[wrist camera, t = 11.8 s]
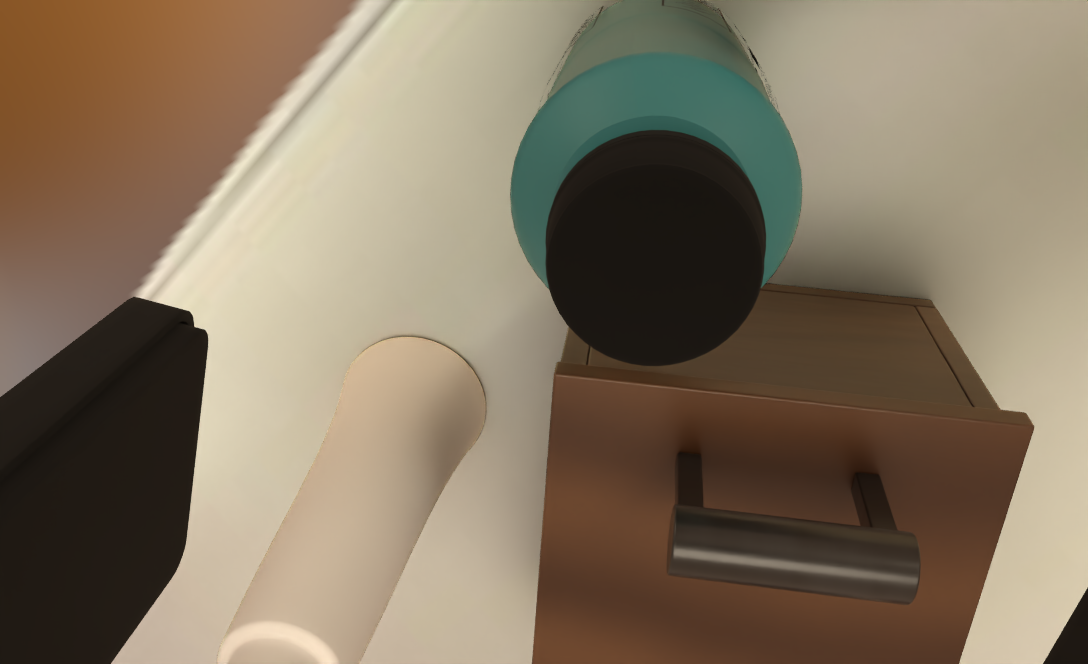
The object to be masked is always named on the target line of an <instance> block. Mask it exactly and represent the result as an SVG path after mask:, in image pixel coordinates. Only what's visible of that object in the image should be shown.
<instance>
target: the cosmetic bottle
mask: <svg viewBox="0 0 1088 664" xmlns="http://www.w3.org/2000/svg"><path fill="white" fill-rule="evenodd" d="M485 416H486V402H485V396H484V392H483V389H482V386H481V384H480V382H479V379H478V378H477V376H476V374H475V373H474V371H473V370H472V369H471V367H470V366H469V365H468V364H467V363H466V362H465V361H464V360H463V359H462V358H461V357H460V356H459V355H457V354H456V353H455V352H453V351H452V350H450V349H449V348H447V347H445V346H443V345H441V344H439V343H436V342H434V341H431V340H427V339H423V338H417V337H396V338H391V339H387V340H384V341H381V342H378V343H376V344H374V345H372V346H370V347H369V348H367V349H366V350H364V351H363V352H362V353H361V354H360V355H359V356H358V357H357V358H356V359H355V360H354V361H353V363H352V364H351V366H350V367H349V369H348V372H347V374H346V376H345V379H344V383H343V387H342V391H341V395H340V399H339V402H338V405H337V408H336V411H335V414H334V417H333V419H332V422H331V424H330V427H329V429H328V432H327V434H326V436H325V438H324V441H323V443H322V445H321V448H320V450H319V452H318V454H317V456H316V458H315V460H314V462H313V464H312V466H311V468H310V470H309V472H308V474H307V476H306V478H305V480H304V482H303V484H302V486H301V488H300V490H299V492H298V494H297V496H296V498H295V499H294V501H293V503H292V505H291V507H290V509H289V511H288V513H287V515H286V517H285V518H284V520H283V522H282V524H281V526H280V528H279V530H278V532H277V534H276V536H275V538H274V539H273V541H272V543H271V545H270V547H269V549H268V551H267V553H266V555H265V557H264V559H263V560H262V562H261V564H260V566H259V568H258V570H257V572H256V574H255V576H254V578H253V580H252V582H251V584H250V586H249V588H248V590H247V592H246V594H245V596H244V598H243V600H242V602H241V604H240V606H239V608H238V610H237V612H236V614H235V616H234V618H233V620H232V622H231V624H230V626H229V629H228V631H227V633H226V635H225V637H224V639H223V641H222V643H221V645H220V648H219V651H218V655H217V664H359V663H360V661H361V659H362V657H363V655H364V653H365V651H366V648H367V646H368V644H369V642H370V640H371V638H372V636H373V634H374V632H375V630H376V628H377V625H378V623H379V621H380V619H381V617H382V615H383V613H384V611H385V609H386V606H387V604H388V602H389V600H390V598H391V596H392V594H393V591H394V589H395V587H396V585H397V583H398V581H399V578H400V576H401V574H402V572H403V570H404V568H405V566H406V563H407V561H408V559H409V557H410V555H411V553H412V550H413V548H414V546H415V544H416V542H417V540H418V538H419V536H420V534H421V532H422V530H423V528H424V525H425V523H426V521H427V519H428V517H429V515H430V513H431V511H432V509H433V507H434V505H435V504H436V502H437V500H438V498H439V496H440V494H441V492H442V491H443V489H444V487H445V485H446V484H447V482H448V480H449V479H450V477H451V475H452V474H453V472H454V471H455V469H456V468H457V466H458V465H459V463H460V461H461V460H462V459H463V457H464V456H465V455H466V453H467V452H468V451H469V450H470V448H471V447H472V446H473V445H474V443H475V442H476V441H477V439H478V437H479V435H480V434H481V431H482V429H483V426H484V422H485Z"/></svg>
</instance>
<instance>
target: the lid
mask: <svg viewBox="0 0 1088 664" xmlns="http://www.w3.org/2000/svg"><path fill="white" fill-rule="evenodd" d="M1033 430H1034V425H1033V423H1032V422H1031V420H1030V419H1029V417H1028V415H1027V414H1026V413H1024V412H1014V411H1005V410H996V409H987V408H978V407H969V406H960V405H950V404H941V403H932V402H923V401H914V400H905V399H896V398H886V397H877V396H868V395H859V394H850V393H841V392H832V391H822V390H813V389H804V388H795V387H786V386H777V385H768V384H758V383H749V382H740V381H731V380H722V379H713V378H704V377H694V376H685V375H676V374H667V373H658V372H649V371H640V370H630V369H621V368H612V367H603V366H594V365H585V364H576V363H566V362H557V363H556V367H555V372H554V379H553V392H552V405H551V418H550V432H549V445H548V458H547V472H546V485H545V498H544V511H543V525H542V538H541V551H540V564H539V578H538V591H537V604H536V618H535V631H534V644H533V657H532V664H959V661H960V658H961V655H962V652H963V649H964V646H965V642H966V639H967V636H968V633H969V630H970V627H971V624H972V621H973V617H974V614H975V611H976V608H977V605H978V602H979V599H980V596H981V593H982V589H983V586H984V583H985V580H986V577H987V574H988V571H989V568H990V564H991V561H992V558H993V555H994V552H995V549H996V546H997V543H998V539H999V536H1000V533H1001V530H1002V527H1003V524H1004V521H1005V518H1006V514H1007V511H1008V508H1009V505H1010V502H1011V499H1012V496H1013V493H1014V489H1015V486H1016V483H1017V480H1018V477H1019V474H1020V471H1021V468H1022V464H1023V461H1024V458H1025V455H1026V452H1027V449H1028V446H1029V443H1030V440H1031V436H1032V433H1033Z"/></svg>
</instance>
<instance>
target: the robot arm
mask: <svg viewBox="0 0 1088 664" xmlns="http://www.w3.org/2000/svg"><path fill="white" fill-rule="evenodd" d="M207 351H208V335H207V332H206V331H205V330H203V329H199V328H196V327H194V321H193V316H192V314H191V313H190V311H186V310H183V309H179V308H175V307H171V306H168V305H164V304H160V303H156V302H153V301H149V300H145V299H141V298H137V297H133V298H131V299H129V300H127V301H126V302H124V303H123V304H122V305H120V306H119V307H118V308H116V309H115V310H114V311H113V312H111V313H110V314H109V315H107V316H106V317H105V318H103V319H102V320H101V321H99V322H98V323H97V324H96V325H94V326H93V327H92V328H90V329H89V330H88V331H86V332H85V333H84V334H82V335H81V336H80V337H79V338H78V339H76V340H75V341H73V342H72V343H71V344H70V345H68V346H67V347H66V348H64V349H63V350H62V351H60V352H59V353H58V354H56V355H55V356H54V357H53V358H51V359H50V360H49V361H47V362H46V363H45V364H43V365H42V366H41V367H39V368H38V369H37V370H35V371H34V372H33V373H31V374H30V375H29V376H28V377H26V378H25V379H24V380H22V381H21V382H20V383H19V384H17V385H16V386H14V387H13V388H12V389H11V390H9V391H8V392H7V393H5V394H4V395H3V396H1V397H0V664H111V662H112V661H113V660H114V658H115V657H116V655H117V654H118V653H119V651H120V650H121V648H122V647H123V646H124V644H125V643H126V641H127V640H128V639H129V637H130V636H131V634H132V633H133V632H134V630H135V629H136V628H137V626H138V625H139V623H140V622H141V621H142V619H143V618H144V616H145V615H146V614H147V612H148V611H149V609H150V608H151V607H152V605H153V604H154V602H155V601H156V600H157V598H158V597H159V595H160V594H161V593H162V591H163V590H164V588H165V587H166V586H167V584H168V583H169V581H170V580H171V579H172V577H173V575H174V574H175V572H176V570H177V568H178V566H179V564H180V561H181V558H182V556H183V552H184V549H185V545H186V539H187V530H188V521H189V512H190V503H191V494H192V485H193V476H194V467H195V458H196V449H197V440H198V431H199V422H200V414H201V405H202V396H203V387H204V378H205V369H206V360H207ZM1043 664H1088V588H1087V590H1086V592H1085V593H1084V595H1083V597H1082V598H1081V600H1080V602H1079V603H1078V605H1077V607H1076V609H1075V610H1074V612H1073V614H1072V615H1071V617H1070V619H1069V621H1068V622H1067V624H1066V626H1065V627H1064V629H1063V631H1062V632H1061V634H1060V636H1059V638H1058V639H1057V641H1056V643H1055V644H1054V646H1053V648H1052V650H1051V651H1050V653H1049V655H1048V656H1047V658H1046V660H1045V661H1044V663H1043Z"/></svg>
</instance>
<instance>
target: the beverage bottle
mask: <svg viewBox="0 0 1088 664" xmlns="http://www.w3.org/2000/svg"><path fill="white" fill-rule="evenodd" d="M698 1H699V0H698ZM698 1H696V0H622V1H620V2H618V3H616V4H614V5H612V6H611V7H609V8H607V9H606V10H605V11H603V12H602V13H601V11H602V9H603V6H602V8H601V10H600V12H599V14H598V16H596V18H595V19H594V20H593V19H592V20H593V21H591V22H590V23H589V25H588V26H587V25H585V24H586V22H587V20H588V19H587V20H586V21H585V22H584V24H583V26H581V27H582V28H584V27H586V26H587V27H586V28H585V29H584V31H582V33H580V32H579V33H580V34H581V35H580V36H579V38H578V37H577V38H578V40H577V41H576V42H575V43H574V44H575V45H574V44H573V45H574V46H573V45H571V46H573V48H572V50H571V52H570V54H569V56H568V58H567V60H566V62H565V63H564V65H563V67H562V69H561V68H560V69H561V71H560V73H559V75H557V76H558V77H557V79H556V81H555V83H554V85H553V87H552V89H551V91H550V94H549V93H548V94H549V96H548V99H547V101H546V102H545V104H544V105H543V106H542V107H541V109H540V110H538V113H537V114H536V116H535V117H534V119H533V120H532V122H531V123H530V125H529V127H528V129H527V131H526V133H525V135H524V137H523V139H522V141H521V143H520V146H519V149H518V152H517V155H516V158H515V162H514V167H513V172H512V178H511V192H510V198H511V212H512V217H513V223H514V228H515V231H516V234H517V237H518V240H519V243H520V246H521V248H522V250H523V252H524V254H525V256H526V258H527V260H528V262H529V263H530V265H531V267H532V268H533V270H534V271H535V273H536V274H537V276H538V277H539V278H540V279H541V280H542V282H543V283H544V284H545V285H546V286H547V288H548V289H549V290H550V293H551V296H552V299H553V301H554V303H555V305H556V307H557V309H558V311H559V313H560V315H561V316H562V318H563V319H564V321H565V322H566V324H567V325H568V326H569V327H570V328H571V330H572V331H573V332H574V333H575V334H576V335H577V336H578V337H579V338H580V339H582V340H583V341H584V342H585V343H586V344H588V345H589V346H590V347H592V348H593V349H595V350H596V351H598V352H600V353H602V354H604V355H606V356H608V357H611V358H613V359H616V360H618V361H622V362H626V363H629V364H635V365H641V366H665V365H673V364H678V363H682V362H686V361H689V360H692V359H695V358H697V357H700V356H702V355H704V354H706V353H708V352H710V351H712V350H713V349H715V348H717V347H718V346H719V345H721V344H722V343H723V342H725V341H726V340H727V339H728V338H729V337H731V336H732V335H733V334H734V333H735V332H736V331H737V330H738V329H739V327H740V326H741V325H742V324H743V322H744V321H745V320H746V319H747V317H748V315H749V314H750V312H751V310H752V309H753V307H754V305H755V303H756V300H757V298H758V296H759V293H760V289H761V288H762V287H763V286H764V285H765V284H766V282H767V281H768V280H769V279H770V278H771V276H772V275H773V274H774V273H775V271H776V270H777V268H778V267H779V265H780V264H781V262H782V261H783V259H784V257H785V255H786V253H787V251H788V249H789V247H790V245H791V243H792V241H793V238H794V235H795V232H796V229H797V226H798V221H799V216H800V211H801V202H802V179H801V169H800V165H799V160H798V156H797V152H796V149H795V146H794V143H793V141H792V138H791V135H790V133H789V131H788V129H787V127H786V125H785V123H784V121H783V120H782V118H781V116H780V115H779V114H780V113H778V112H777V111H776V109H775V107H774V106H773V103H771V102H772V100H771V102H770V100H769V97H770V95H769V97H768V95H767V92H768V91H767V92H766V90H765V87H764V85H763V83H762V81H761V79H760V77H759V75H758V73H757V70H755V69H756V68H754V66H753V65H754V64H752V62H751V61H750V59H749V57H748V55H747V54H746V52H745V50H744V49H743V47H742V45H741V43H740V42H739V40H738V38H737V36H736V35H735V33H734V32H733V30H732V29H731V28H730V26H729V25H728V24H727V23H726V21H725V19H724V17H723V15H722V13H721V12H720V10H719V8H718V9H717V10H719V12H720V14H721V16H722V18H723V19H722V18H721V17H720V16H719V15H718V14H717V13H718V12H717V13H716V12H714V11H713V10H714V9H713V10H712V9H711V8H709V6H708V7H707V5H706V6H705V4H706V3H704V4H703V3H702V2H703V1H702V2H701V1H700V2H701V3H700V2H698ZM704 2H705V0H704ZM711 4H712V3H711ZM709 5H710V4H709ZM599 9H600V8H599ZM715 11H716V10H715ZM595 12H596V11H595ZM600 13H601V14H600ZM593 15H594V14H593ZM593 15H592V16H593ZM592 16H591V17H592ZM726 16H727V15H726ZM727 17H728V16H727ZM584 25H585V26H584ZM735 27H736V26H735ZM582 28H580V29H582ZM578 31H580V30H578ZM738 31H739V30H738ZM739 32H740V31H739ZM577 33H578V32H577ZM579 33H578V34H579ZM575 35H577V34H575ZM741 35H742V34H741ZM574 39H576V38H575V36H574ZM572 41H573V40H572ZM574 41H575V40H574ZM744 41H745V39H744ZM572 43H573V42H572ZM569 44H570V43H569ZM748 50H750V48H749V49H748ZM566 51H567V50H566ZM566 51H565V52H566ZM568 51H569V50H568ZM750 52H751V50H750ZM751 55H752V58H753V59H754V60H755V62H756V64H757V65H758V63H759V62H758V63H757V60H756V58H755V56H754V55H753V53H752V52H751ZM562 58H563V56H562ZM753 59H752V61H753ZM558 65H559V64H558ZM558 65H557V67H558ZM758 67H759V65H758ZM759 69H760V68H759ZM761 71H762V70H761ZM762 72H763V71H762ZM553 74H554V73H553ZM761 74H762V73H761ZM763 76H764V75H763ZM765 80H766V79H765ZM549 81H550V80H549ZM548 83H549V82H548ZM766 87H767V86H766ZM769 88H770V87H769ZM770 89H771V88H770ZM769 92H770V91H769ZM770 93H771V92H770ZM542 97H543V96H542ZM771 98H772V97H771ZM775 99H776V98H775ZM541 100H542V99H541ZM777 106H778V105H777ZM778 110H779V109H778Z"/></svg>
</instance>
